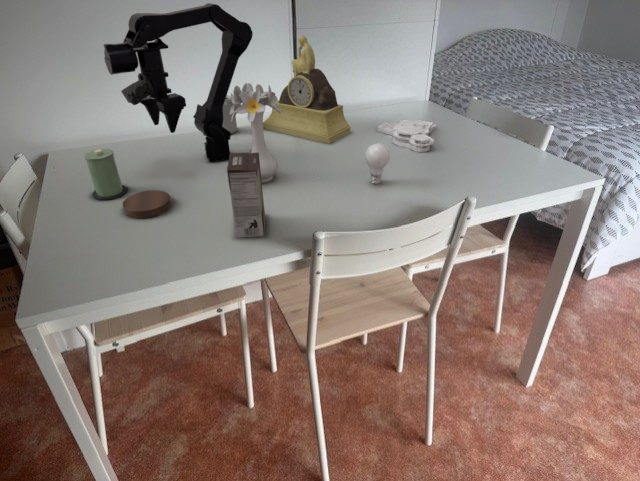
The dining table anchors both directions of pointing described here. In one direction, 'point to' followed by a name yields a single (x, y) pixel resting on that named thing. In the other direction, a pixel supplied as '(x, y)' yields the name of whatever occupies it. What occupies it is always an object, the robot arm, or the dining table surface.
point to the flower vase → (256, 122)
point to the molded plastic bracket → (410, 134)
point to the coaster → (110, 196)
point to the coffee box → (246, 194)
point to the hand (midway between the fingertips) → (164, 128)
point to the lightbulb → (377, 160)
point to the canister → (104, 172)
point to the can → (228, 117)
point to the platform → (147, 204)
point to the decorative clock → (308, 103)
